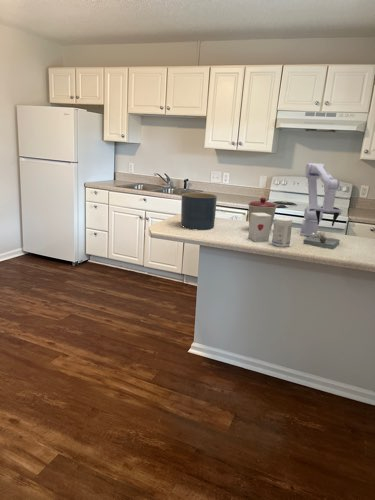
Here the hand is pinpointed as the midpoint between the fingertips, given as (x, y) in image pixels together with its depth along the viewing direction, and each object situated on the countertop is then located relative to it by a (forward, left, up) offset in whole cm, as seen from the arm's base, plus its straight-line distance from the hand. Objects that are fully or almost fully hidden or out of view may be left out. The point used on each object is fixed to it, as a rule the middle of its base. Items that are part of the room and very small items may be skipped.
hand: (325, 225), depth 210 cm
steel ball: (-5, -4, -6) cm, 9 cm away
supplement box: (-31, -21, -11) cm, 39 cm away
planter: (-75, -17, -11) cm, 77 cm away
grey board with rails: (0, -4, -10) cm, 11 cm away
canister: (-40, +2, -11) cm, 41 cm away
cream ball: (-2, +3, -6) cm, 7 cm away
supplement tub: (-17, -23, -11) cm, 30 cm away
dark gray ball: (+2, -10, -6) cm, 12 cm away
